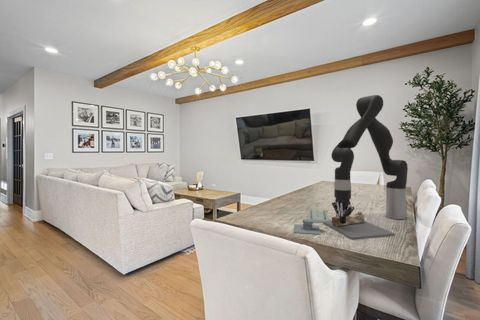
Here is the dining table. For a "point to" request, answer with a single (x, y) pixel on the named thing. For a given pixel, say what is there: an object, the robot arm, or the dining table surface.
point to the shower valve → (308, 227)
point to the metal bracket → (318, 215)
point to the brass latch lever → (348, 219)
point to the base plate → (360, 230)
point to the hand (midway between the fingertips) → (342, 223)
